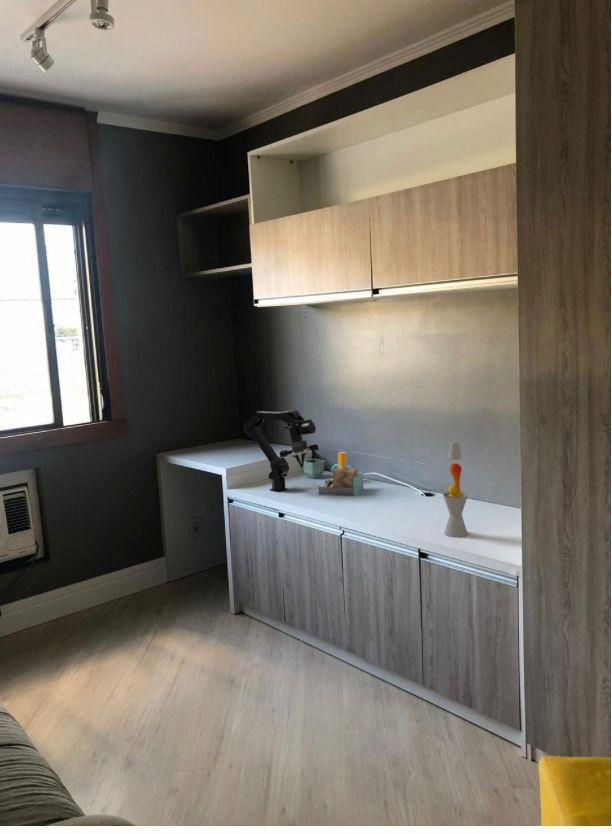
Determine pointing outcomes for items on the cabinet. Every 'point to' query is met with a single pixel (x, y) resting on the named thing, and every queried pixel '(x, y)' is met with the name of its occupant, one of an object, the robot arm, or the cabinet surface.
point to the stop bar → (358, 483)
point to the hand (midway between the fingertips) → (302, 468)
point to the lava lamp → (455, 497)
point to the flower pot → (313, 468)
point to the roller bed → (335, 489)
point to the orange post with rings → (341, 461)
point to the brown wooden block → (344, 477)
